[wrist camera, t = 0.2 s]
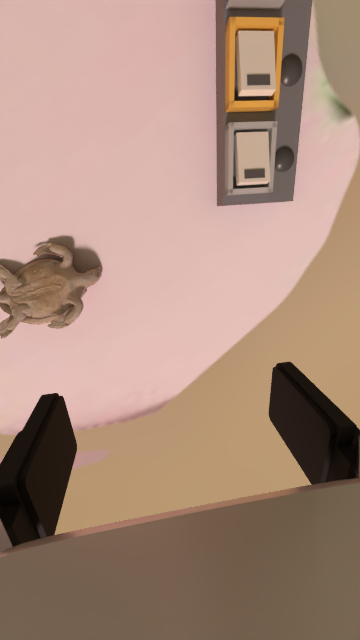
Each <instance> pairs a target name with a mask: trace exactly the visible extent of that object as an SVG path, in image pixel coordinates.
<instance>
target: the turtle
mask: <svg viewBox="0 0 360 640" xmlns="http://www.w3.org/2000/svg"><path fill="white" fill-rule="evenodd" d="M44 253H47V254H53V255H56V256H59V257H62V258H63V261H59V260H55V259H42V260H36V261H34V262H31V263H28V264H26V265H25V266H24V267H23V268H20V269H19V270H18V272H16V273H15V274H14V275H13V274H12V273H10V272H9V271H8V270H7V269H6V268H5V267H3V266H2V265H0V280H1V281H4V282H5V287H4V288H3V289H2V290H1V292H0V307H1V309H2V310H3V311H5V312H6V313H8V314H10V315H11V316H10V317H9V318H7V319H5V320H3V321H2V322H1V323H0V336H1V338H5V337H7V336H8V335H9V334H10V333H12V332H13V330H14V329H15V327H16V326H17V325H18V324H19V322H20V321H21V322H25V323H28V324H38V325H39V324H44V323H49V322H51V324H49V325H48V327H50V328H56V329H58V328H63V327H66V326H68V325H70V324H71V323H72V322H74V320H75V319H76V318H78V316H79V315H80V314H81V312H82V310H83V302H82V300H81V298H82V296H83V295H84V294H85V292H86V291H87V289H86V288H88V287H89V286H91V285H93V284H95V283H96V282H97V281H98V280H99V278H100V277H101V272H102V268H101V267H100V266H98V267H96V268H94V269H91V270H88V271H87V272H85V273H79V272H77V271H76V270H75V268H74V267H73V265H72V260H73V255H72V253H71V251H70V250H69V249H67V248H66V247H65V246H62V245H58V244H54V243H49V244H47V245H43V246H41V247H39V248H38V249H37V250H36V251H35V252H34V253H33V254H34V255H36V254H37V256H39V255H40V254H44Z"/></svg>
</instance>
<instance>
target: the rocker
mask: <svg viewBox="0 0 360 640" xmlns="http://www.w3.org/2000/svg"><path fill="white" fill-rule="evenodd" d="M234 151H235V168H236V185H237V186H238V185H256V184H267V183H268V182H269V181H270V161H269V136H268V132H239V133H236V134H235V136H234Z"/></svg>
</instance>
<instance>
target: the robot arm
mask: <svg viewBox="0 0 360 640" xmlns="http://www.w3.org/2000/svg"><path fill="white" fill-rule="evenodd" d="M269 417H270V420H271V422H272V423H273V425H274V426H275V428H276V430H277V431H278V432H279V434H280V436H281V437H282V439H283V440H284V442H285V443H286V445H287V447H288V448H289V449H290V451H291V453H292V454H293V456H294V458H295V459H296V461H297V462H298V464H299V465H300V467H301V468H302V470H303V471H304V473H305V475H306V476H307V478H308V479H309V481H310V483H311V484H312V485H307V486H302V487H296V488H291V489H285V490H280V491H275V492H269V493H264V494H259V495H253V496H248V497H242V498H237V499H232V500H227V501H222V502H217V503H212V504H206V505H201V506H196V507H190V508H186V509H181V510H175V511H170V512H165V513H160V514H155V515H150V516H144V517H139V518H135V519H129V520H124V521H119V522H114V523H109V524H104V525H100V526H94V527H90V528H85V529H80V530H76V531H72V532H67V533H62V534H58V535H54V534H55V530H56V526H57V522H58V519H59V515H60V511H61V508H62V504H63V500H64V496H65V493H66V489H67V485H68V481H69V478H70V474H71V470H72V466H73V463H74V459H75V455H76V451H77V444H76V439H75V436H74V432H73V429H72V425H71V422H70V418H69V415H68V411H67V408H66V404H65V401H64V398H63V396H59V395H58V393H53V394H46V395H42V396H41V397H40V399H39V401H38V403H37V405H36V406H35V408H34V410H33V412H32V414H31V416H30V417H29V419H28V421H27V423H26V425H25V427H24V428H23V430H22V431H20V432H19V433H18V434H17V436H16V437H15V439H14V441H13V443H12V444H11V446H10V448H9V450H8V452H7V453H6V455H5V457H4V459H3V460H2V462H1V464H0V640H360V430H359V429H358V428H357V427H356V425H355V423H353V422H352V421H351V420H350V419H349V418H348V417H347V416H346V415H345V414H344V413H343V412H342V411H341V410H340V409H339V408H338V407H337V406H336V405H335V404H334V403H333V402H332V401H331V400H330V399H329V398H328V397H327V396H325V395H324V394H323V393H322V392H321V391H320V390H319V389H318V388H317V387H316V386H315V385H314V384H313V383H312V382H311V381H310V380H309V379H308V378H307V377H306V376H305V375H304V374H303V373H302V372H301V371H300V370H299V369H298V368H296V367H295V366H294V365H293V364H292V363H291V362H284V363H278V364H277V365H276V367H274V368H273V372H272V383H271V394H270V405H269Z"/></svg>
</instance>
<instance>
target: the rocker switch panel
mask: <svg viewBox="0 0 360 640" xmlns="http://www.w3.org/2000/svg"><path fill="white" fill-rule="evenodd" d="M311 7H312V0H216V103H217V206H227V205H242V204H257V203H272V202H286V201H293V194H294V184H295V174H296V163H297V153H298V142H299V132H300V121H301V111H302V101H303V90H304V80H305V69H306V59H307V49H308V38H309V28H310V17H311ZM238 31H274V43H275V71H276V90H275V92H274V93H273V95H272V96H238V82H237V64H236V46H235V38H236V36H237V33H238ZM239 132H268V136H269V161H270V181H269V182H268V183H267V184H256V185H238V186H237V185H236V168H235V151H234V136H235V134H236V133H239Z"/></svg>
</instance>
